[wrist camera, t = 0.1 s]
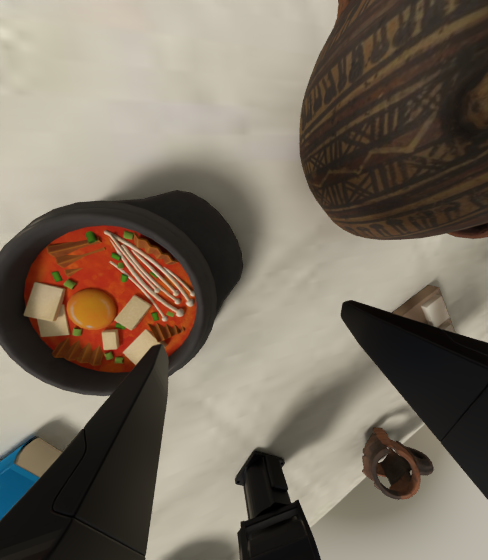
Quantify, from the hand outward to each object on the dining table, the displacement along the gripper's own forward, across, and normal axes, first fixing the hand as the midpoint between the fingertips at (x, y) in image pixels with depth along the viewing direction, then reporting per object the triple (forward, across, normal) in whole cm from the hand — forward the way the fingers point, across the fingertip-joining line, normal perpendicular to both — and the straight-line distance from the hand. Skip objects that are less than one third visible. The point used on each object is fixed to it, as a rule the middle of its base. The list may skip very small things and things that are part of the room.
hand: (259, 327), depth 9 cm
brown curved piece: (+6, -24, +42) cm, 48 cm away
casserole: (+15, +10, +4) cm, 19 cm away
